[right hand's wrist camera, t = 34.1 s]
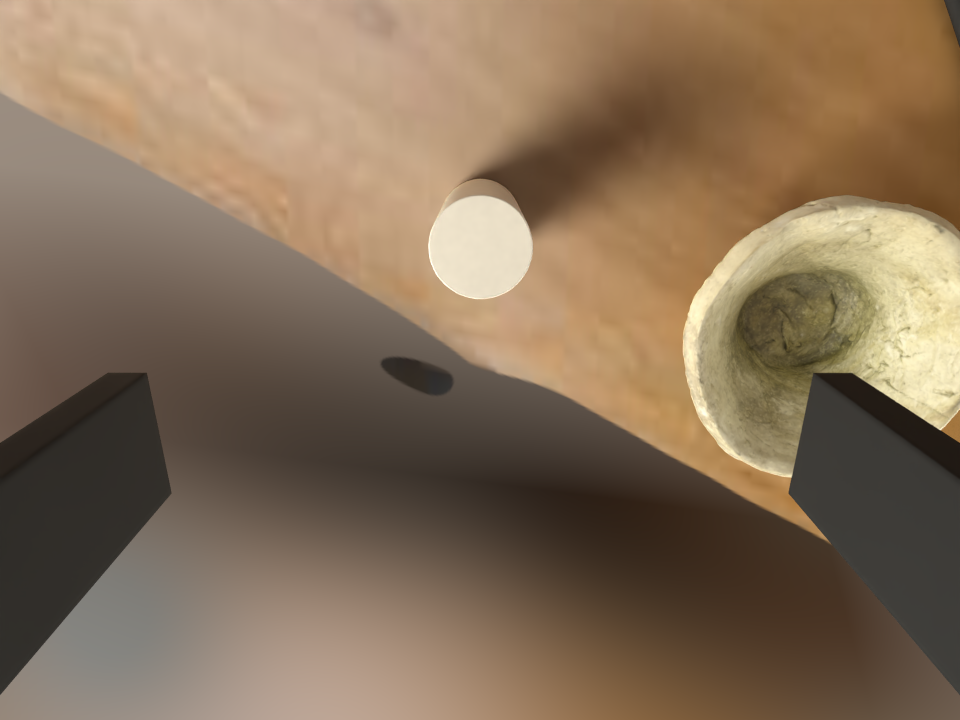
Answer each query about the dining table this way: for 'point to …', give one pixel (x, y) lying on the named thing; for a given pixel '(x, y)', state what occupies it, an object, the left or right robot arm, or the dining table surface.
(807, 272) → the bowl
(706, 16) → the dining table surface
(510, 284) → the canister
